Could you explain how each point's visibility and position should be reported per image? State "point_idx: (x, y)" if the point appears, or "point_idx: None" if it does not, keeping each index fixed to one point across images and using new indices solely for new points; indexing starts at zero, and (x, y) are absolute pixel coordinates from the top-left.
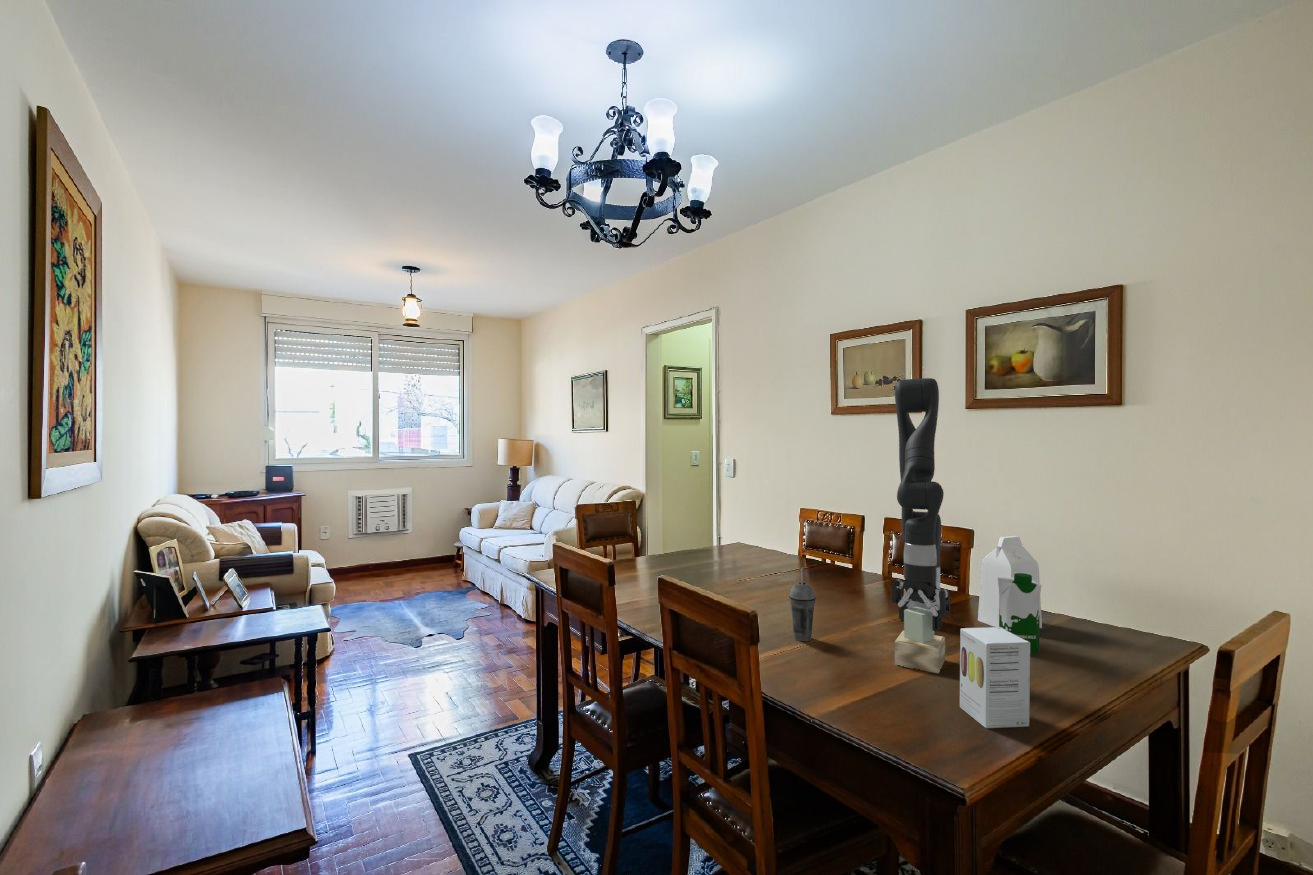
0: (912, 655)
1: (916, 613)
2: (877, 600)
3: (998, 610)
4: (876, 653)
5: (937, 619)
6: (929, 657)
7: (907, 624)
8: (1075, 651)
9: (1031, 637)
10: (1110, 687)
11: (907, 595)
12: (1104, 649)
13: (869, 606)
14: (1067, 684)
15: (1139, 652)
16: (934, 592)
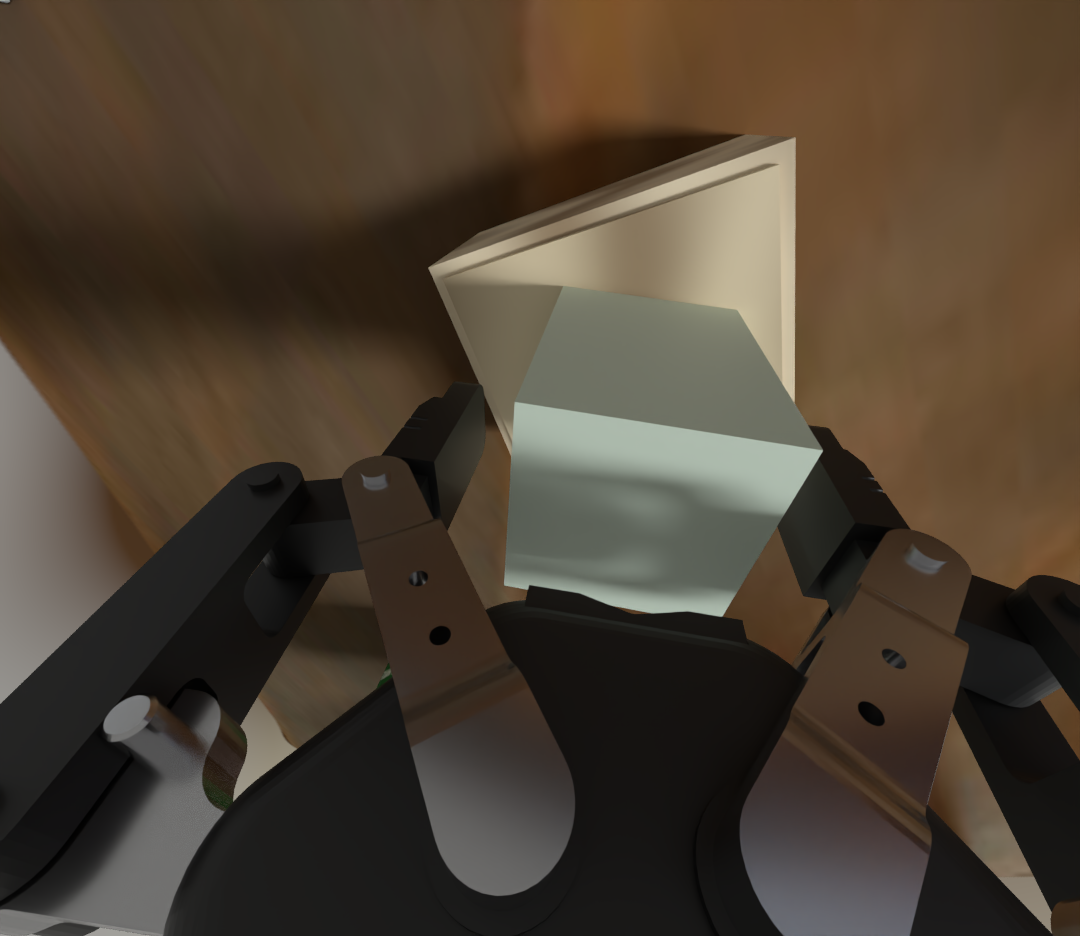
0: (620, 190)
1: (607, 415)
2: (985, 796)
3: None
4: (921, 257)
5: (398, 450)
6: (505, 232)
7: (724, 354)
8: (370, 675)
9: (386, 673)
10: (161, 529)
11: (863, 702)
12: (351, 701)
13: None
14: (201, 484)
15: (312, 709)
16: (215, 826)
